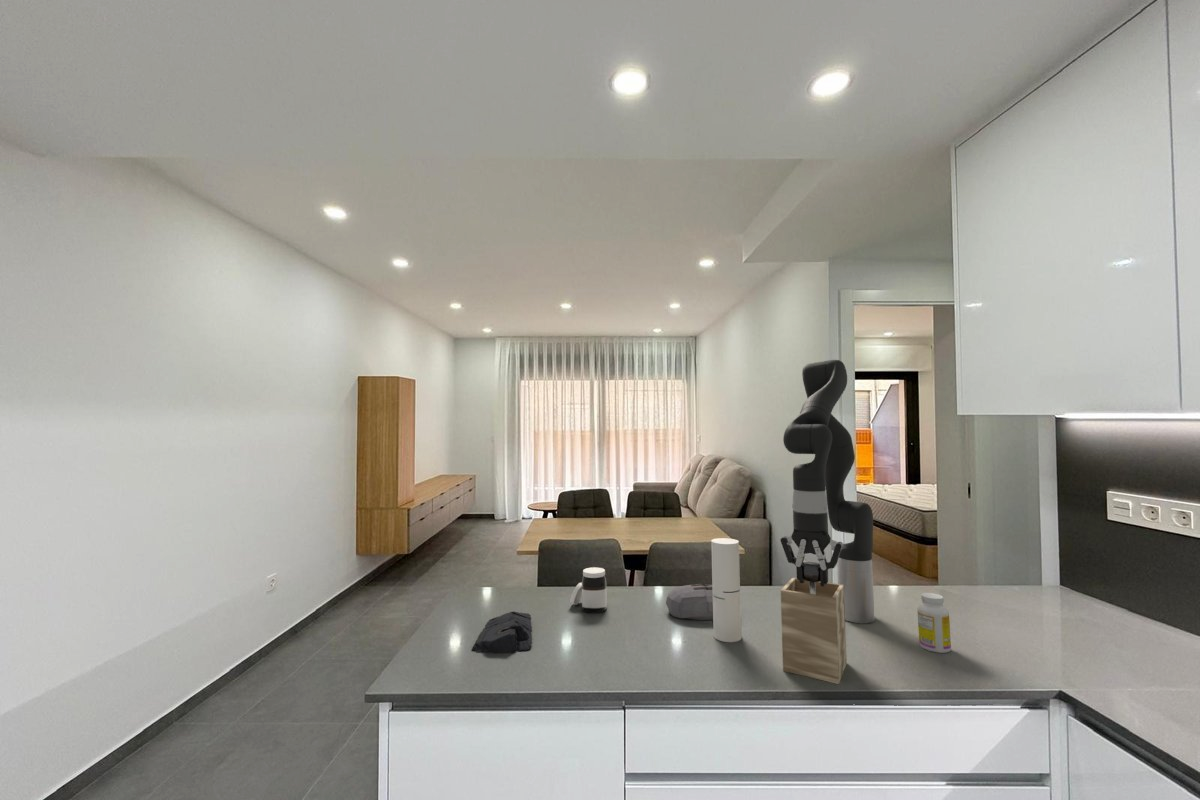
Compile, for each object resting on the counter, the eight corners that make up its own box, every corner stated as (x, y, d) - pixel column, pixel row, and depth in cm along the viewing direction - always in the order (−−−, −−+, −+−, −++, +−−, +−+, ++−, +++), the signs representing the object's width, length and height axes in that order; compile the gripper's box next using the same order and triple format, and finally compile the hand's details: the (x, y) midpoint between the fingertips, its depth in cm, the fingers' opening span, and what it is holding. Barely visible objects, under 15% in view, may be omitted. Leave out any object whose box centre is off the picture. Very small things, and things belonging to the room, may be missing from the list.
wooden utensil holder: (794, 651, 126) (792, 577, 127) (846, 663, 120) (843, 584, 121) (783, 670, 117) (780, 590, 118) (838, 684, 110) (835, 598, 111)
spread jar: (606, 614, 153) (606, 574, 154) (569, 614, 153) (568, 575, 154) (606, 600, 165) (606, 564, 166) (571, 601, 165) (571, 564, 166)
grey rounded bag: (724, 603, 162) (661, 605, 161) (724, 576, 162) (661, 578, 161) (740, 622, 147) (670, 624, 146) (739, 592, 147) (670, 594, 146)
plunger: (799, 650, 125) (796, 557, 126) (839, 658, 120) (835, 562, 121) (790, 664, 117) (787, 565, 118) (832, 674, 112) (828, 571, 114)
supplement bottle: (946, 644, 130) (943, 592, 130) (954, 655, 123) (952, 601, 124) (916, 641, 132) (913, 590, 132) (922, 652, 126) (920, 598, 126)
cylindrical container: (742, 643, 132) (739, 544, 133) (713, 641, 133) (711, 543, 135) (740, 632, 139) (737, 538, 140) (713, 630, 140) (711, 537, 142)
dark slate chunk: (538, 621, 150) (538, 604, 150) (530, 654, 128) (530, 635, 128) (486, 622, 149) (486, 605, 150) (468, 656, 127) (468, 636, 128)
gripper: (845, 509, 120) (848, 584, 119) (782, 505, 127) (784, 575, 127) (840, 514, 113) (843, 593, 112) (774, 509, 121) (776, 583, 120)
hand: (812, 583), depth 119 cm, fingers closed on plunger, 4 cm apart
